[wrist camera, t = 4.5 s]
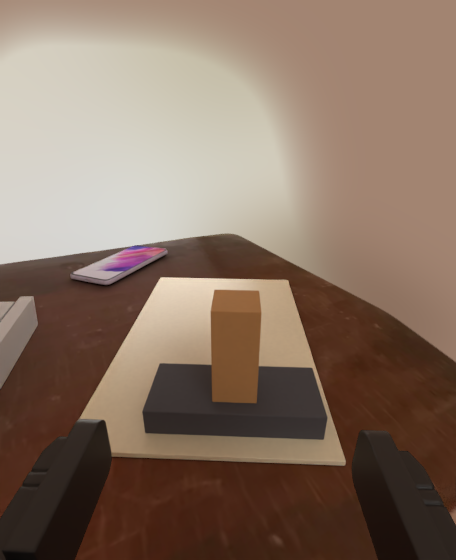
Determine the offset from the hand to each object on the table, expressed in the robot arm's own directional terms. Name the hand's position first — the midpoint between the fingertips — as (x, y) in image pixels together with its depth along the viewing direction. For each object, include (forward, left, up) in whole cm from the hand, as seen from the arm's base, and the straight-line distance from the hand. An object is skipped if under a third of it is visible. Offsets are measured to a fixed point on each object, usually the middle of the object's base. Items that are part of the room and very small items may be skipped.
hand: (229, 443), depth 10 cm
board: (+2, -21, -10) cm, 23 cm away
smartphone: (+18, -40, -10) cm, 45 cm away
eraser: (0, -11, -9) cm, 14 cm away
